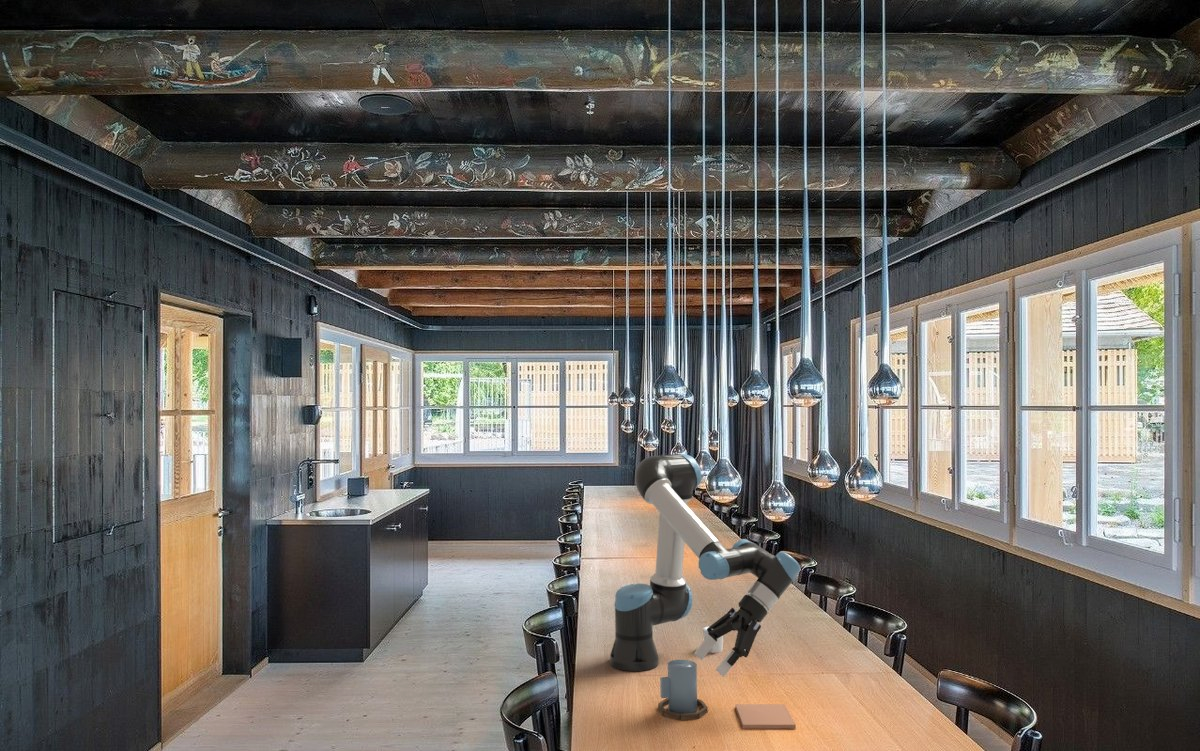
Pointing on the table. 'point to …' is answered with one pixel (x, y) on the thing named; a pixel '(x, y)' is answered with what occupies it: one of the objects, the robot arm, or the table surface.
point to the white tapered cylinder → (718, 645)
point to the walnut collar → (683, 716)
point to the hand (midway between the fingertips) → (708, 665)
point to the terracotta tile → (764, 716)
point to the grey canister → (680, 686)
